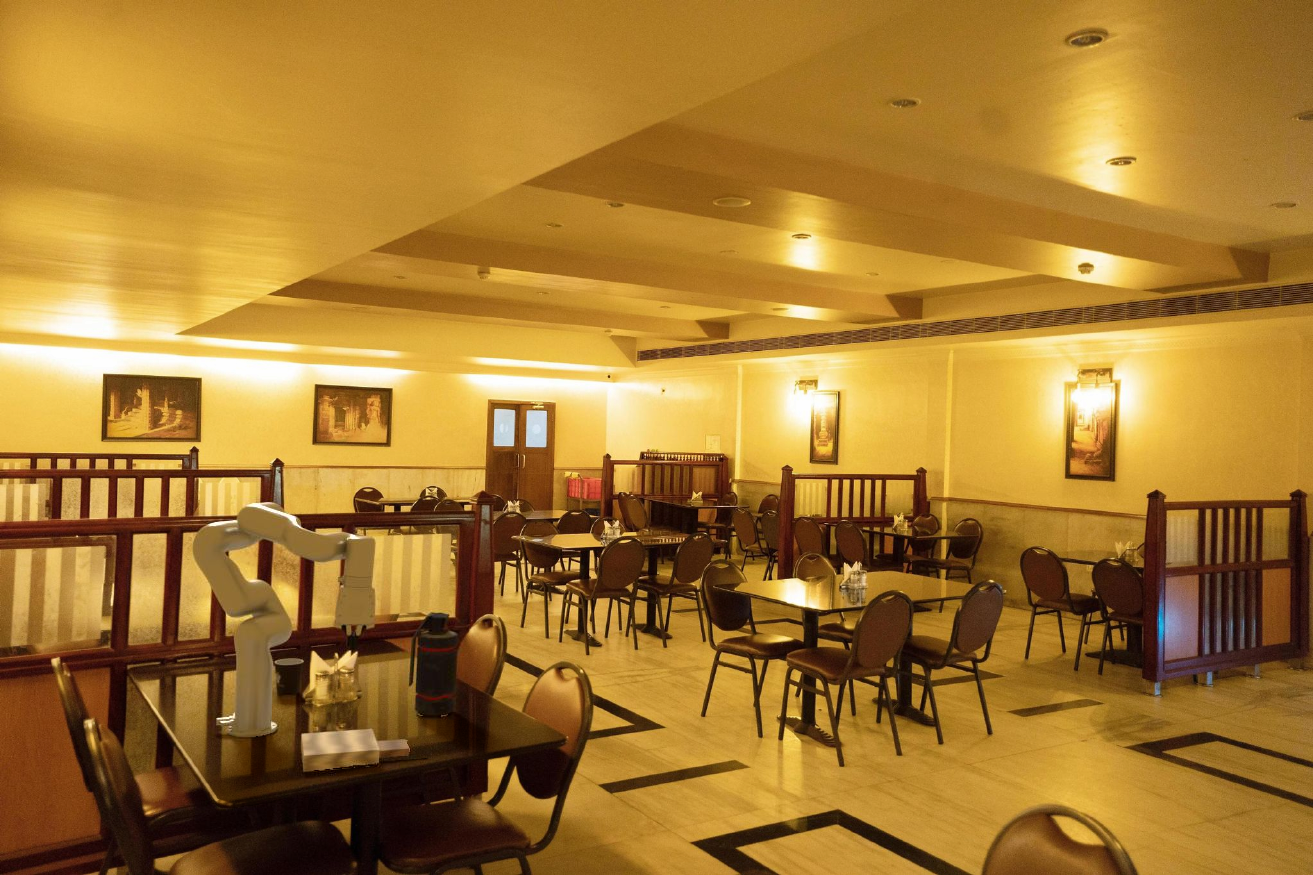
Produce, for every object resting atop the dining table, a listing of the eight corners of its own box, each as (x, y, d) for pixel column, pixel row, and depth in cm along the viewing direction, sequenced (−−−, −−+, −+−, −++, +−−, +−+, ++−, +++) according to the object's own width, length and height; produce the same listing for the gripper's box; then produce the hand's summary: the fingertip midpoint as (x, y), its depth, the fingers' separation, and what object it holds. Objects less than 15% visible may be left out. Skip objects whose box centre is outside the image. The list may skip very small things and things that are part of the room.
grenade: (457, 708, 298) (462, 611, 298) (450, 719, 286) (455, 618, 286) (412, 706, 297) (417, 609, 298) (404, 717, 286) (408, 616, 286)
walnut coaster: (377, 758, 248) (377, 750, 248) (374, 748, 256) (374, 741, 256) (409, 755, 251) (409, 748, 251) (405, 746, 259) (405, 738, 259)
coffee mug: (302, 695, 304) (304, 664, 304) (273, 697, 301) (274, 665, 301) (301, 686, 315) (303, 655, 315) (273, 687, 312) (274, 657, 312)
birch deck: (303, 771, 238) (304, 755, 238) (300, 748, 254) (301, 733, 254) (378, 765, 244) (379, 749, 244) (371, 743, 261) (372, 728, 261)
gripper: (329, 583, 255) (323, 652, 255) (387, 585, 260) (381, 652, 260) (328, 578, 262) (322, 645, 262) (384, 580, 267) (379, 645, 267)
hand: (351, 648), depth 261 cm, fingers closed
